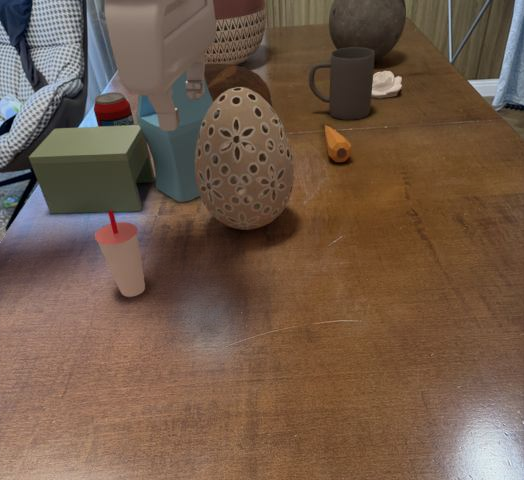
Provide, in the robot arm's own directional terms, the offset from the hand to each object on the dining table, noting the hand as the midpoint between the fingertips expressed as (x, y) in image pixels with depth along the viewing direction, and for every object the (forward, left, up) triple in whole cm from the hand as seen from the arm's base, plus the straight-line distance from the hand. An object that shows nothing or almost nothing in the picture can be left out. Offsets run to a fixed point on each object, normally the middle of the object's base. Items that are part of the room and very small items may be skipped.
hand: (184, 112), depth 55 cm
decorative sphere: (+30, +100, -22) cm, 107 cm away
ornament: (+4, +14, -22) cm, 27 cm away
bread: (-9, +67, -22) cm, 71 cm away
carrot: (+19, +44, -22) cm, 53 cm away
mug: (+21, +61, -22) cm, 69 cm away
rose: (+32, +74, -22) cm, 84 cm away
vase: (-8, +28, -22) cm, 37 cm away
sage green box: (-23, +25, -22) cm, 41 cm away
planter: (-10, +105, -22) cm, 108 cm away
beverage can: (-23, +40, -22) cm, 51 cm away
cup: (-11, -3, -22) cm, 25 cm away
